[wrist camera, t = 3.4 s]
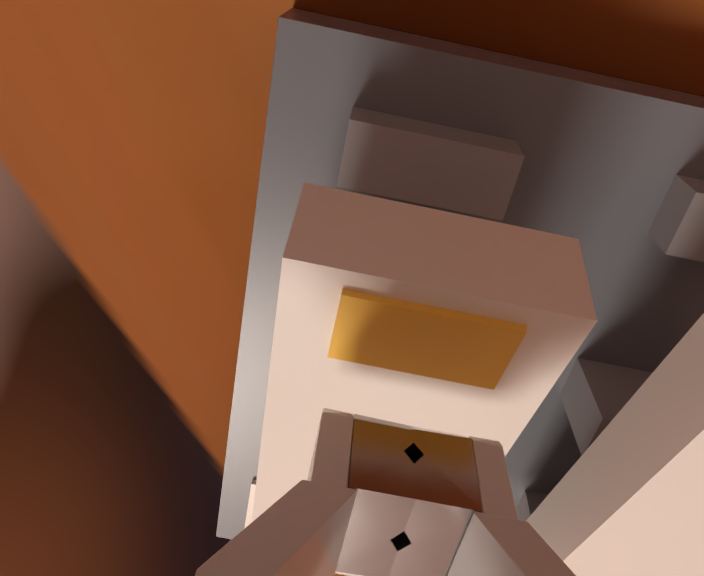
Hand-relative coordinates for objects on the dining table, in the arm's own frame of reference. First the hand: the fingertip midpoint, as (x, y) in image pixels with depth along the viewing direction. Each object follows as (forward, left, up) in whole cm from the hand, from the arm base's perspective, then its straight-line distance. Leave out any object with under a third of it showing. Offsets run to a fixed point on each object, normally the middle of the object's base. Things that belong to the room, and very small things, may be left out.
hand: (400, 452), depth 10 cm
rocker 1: (+3, 0, -3) cm, 4 cm away
